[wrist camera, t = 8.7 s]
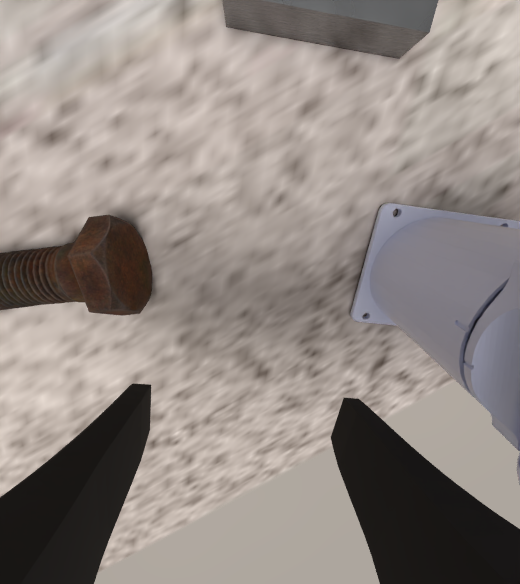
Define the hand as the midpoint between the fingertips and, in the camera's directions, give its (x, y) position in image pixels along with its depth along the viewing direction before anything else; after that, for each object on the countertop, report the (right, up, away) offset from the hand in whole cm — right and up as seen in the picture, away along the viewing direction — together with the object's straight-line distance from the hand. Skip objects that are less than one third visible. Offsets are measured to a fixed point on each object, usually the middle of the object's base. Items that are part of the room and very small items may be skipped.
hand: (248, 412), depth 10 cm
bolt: (-14, +6, +8) cm, 17 cm away
